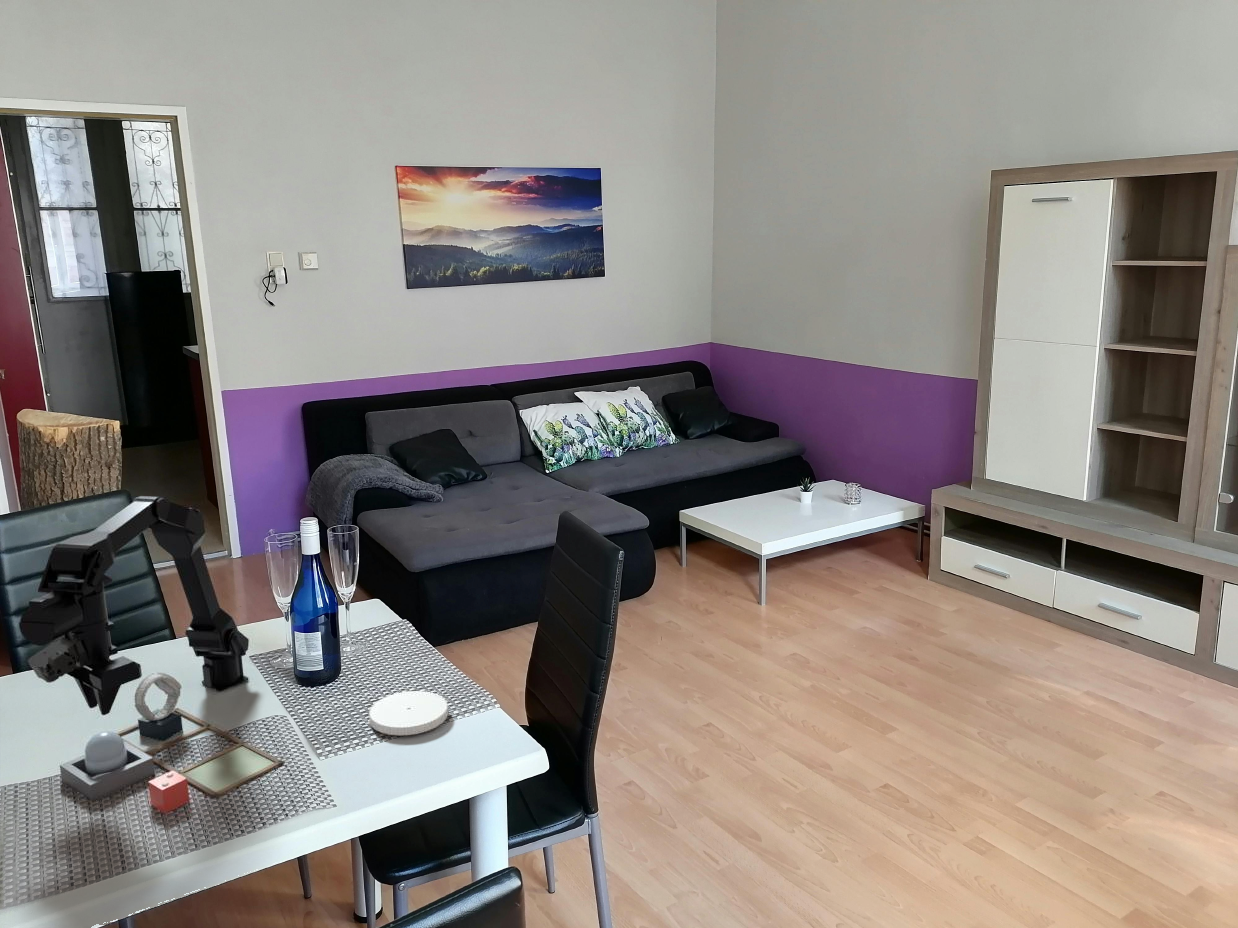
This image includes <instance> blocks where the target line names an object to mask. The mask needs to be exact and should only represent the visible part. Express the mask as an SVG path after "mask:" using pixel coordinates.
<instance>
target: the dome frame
mask: <svg viewBox="0 0 1238 928" xmlns="http://www.w3.org/2000/svg"><path fill="white" fill-rule="evenodd" d="M123 742H124V746H125V747H126V751H127V759H128V760H127V763H126V764H125V765H124V766H123V767H121V768H119V769H117V770H115V771H112V772H109V773H104V774H91V773H89V772H87V771H86V766H85V759H84V757H85V754H84V755H81V756H78V757H76V758H74V759H72V760H71V759H70V760H68V761H66V762H63V763H62V764H59V769H60V776H61V781H62V783H63V784H65V785H66V786H67V787H69V788H70V789H72V790H74V792H76V793H78V792H79V793H80V795H81V794H82V795H83V796H82V795H81V796H82V797H84V798H85V797H86V798H85V799H86V800H88V799H89V800H88V801H90V802H91V801H92V802H91V803H94V801H95V802H96V800H97V801H99V800H101V798H102V799H104V798H106V797H108V796H110V795H112V793H113V794H115V793H117V792H119V791H122V790H124V789H125V788H127V787H129V786H133V785H134V784H136V783H139V782H140V781H144V780H146V779H147V778H150V777H152V776H154V775H156V773H155V772H156V771H155V765H154V763H153V757H151V756H149V755H147V754H146V753H144V752H142V751H141V750H139V749H137V748H135V747H134V746H132V745H130V744H128V743H127V742H125V741H123ZM114 792H115V793H114ZM79 793H78V794H79Z"/></svg>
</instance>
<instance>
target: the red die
mask: <svg viewBox="0 0 1238 928" xmlns="http://www.w3.org/2000/svg"><path fill="white" fill-rule="evenodd" d="M147 783H148V790H149V791H148V792H149V797H150V805H151V806H152V807H154V808H155V809H157V810H159V811H160V812H162V813H164V814H168V813H169V812H172V811H174V810H175V809H177V808H179V807H181V806H183V805H185V804H187V803H189V802H191V801H190V794H189V793H190V792H189V783H188V782H187V778H185V777H184V776H182V775H180V774H179V773H177V772H175V771H170V772H168V771H167V772H166V773H164V774H162V775H159V776H158V777H155V778H153V779H150V780H149V781H148V782H147Z"/></svg>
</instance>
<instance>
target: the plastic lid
mask: <svg viewBox="0 0 1238 928" xmlns="http://www.w3.org/2000/svg"><path fill="white" fill-rule="evenodd" d="M448 705H449V704H448V701H447V700H446V699H445V697H443V696H442V695H439V694H437V693H434V692H431V691H430V692H429V691H423V690H420V691H419V690H417V691H416V690H410V691H403V692H402V691H400V692H397V693H394V694H390V695H388V696H385V697H383V698H380V700H377V701H375V703H374V704H373V705H372V706H371V707H370V708H369V711H368V717H369V724H370V726H371V728H373V729H374V730H375V731H377V732H379V733H382V734H385V735H388V736H389V735H390V736H411V735H418V734H421V733H425V732H428V731H431V730H434V728H437V727H439V726H440V725H442V724H443V723H444V722H445V721H446V720H447V718H448V715H449V707H448Z"/></svg>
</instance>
